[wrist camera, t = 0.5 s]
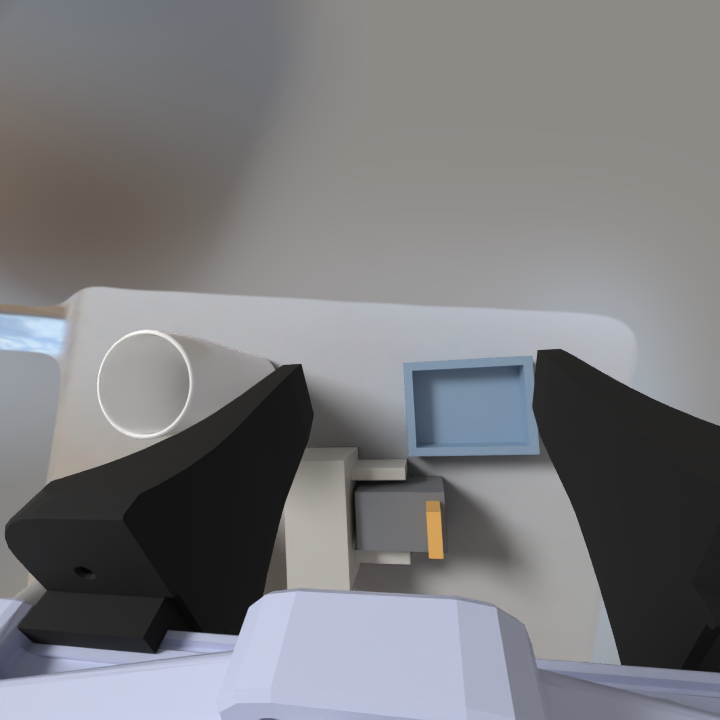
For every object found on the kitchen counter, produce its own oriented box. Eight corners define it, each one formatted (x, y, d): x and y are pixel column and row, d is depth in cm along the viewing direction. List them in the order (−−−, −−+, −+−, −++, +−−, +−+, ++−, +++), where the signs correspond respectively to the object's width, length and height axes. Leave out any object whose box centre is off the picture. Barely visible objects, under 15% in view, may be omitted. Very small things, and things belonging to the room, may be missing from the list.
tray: (531, 448, 33) (539, 454, 30) (409, 450, 35) (408, 456, 32) (524, 357, 33) (532, 355, 31) (405, 364, 35) (403, 363, 33)
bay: (412, 558, 34) (409, 596, 28) (310, 555, 36) (287, 590, 30) (406, 446, 35) (402, 459, 29) (306, 447, 36) (282, 461, 30)
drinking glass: (300, 373, 37) (215, 369, 22) (262, 430, 37) (154, 464, 22) (247, 335, 38) (132, 306, 23) (210, 391, 38) (75, 398, 24)
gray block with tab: (367, 526, 35) (351, 565, 28) (364, 476, 35) (348, 502, 28) (444, 527, 34) (450, 568, 26) (441, 476, 34) (446, 502, 27)
